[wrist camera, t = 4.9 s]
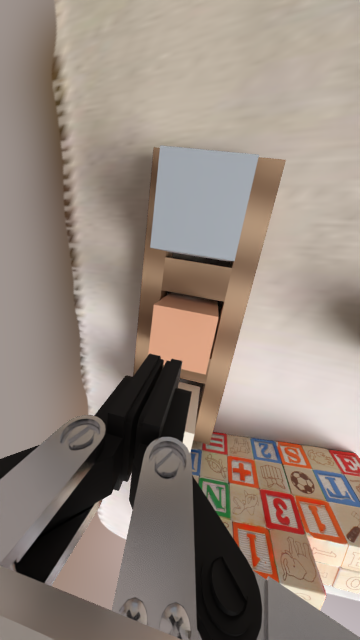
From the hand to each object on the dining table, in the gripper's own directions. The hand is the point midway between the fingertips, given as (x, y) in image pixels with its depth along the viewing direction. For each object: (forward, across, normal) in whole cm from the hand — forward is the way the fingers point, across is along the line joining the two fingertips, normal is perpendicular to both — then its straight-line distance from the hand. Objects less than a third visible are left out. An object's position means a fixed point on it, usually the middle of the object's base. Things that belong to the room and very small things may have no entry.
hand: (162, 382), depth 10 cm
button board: (+13, 0, 0) cm, 13 cm away
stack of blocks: (+13, -12, +18) cm, 25 cm away
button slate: (+10, 0, -9) cm, 13 cm away
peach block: (+12, 0, 0) cm, 12 cm away
